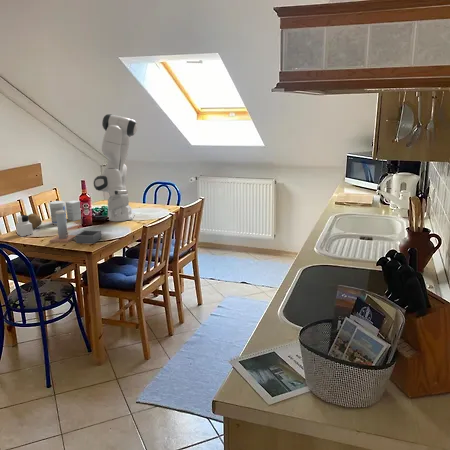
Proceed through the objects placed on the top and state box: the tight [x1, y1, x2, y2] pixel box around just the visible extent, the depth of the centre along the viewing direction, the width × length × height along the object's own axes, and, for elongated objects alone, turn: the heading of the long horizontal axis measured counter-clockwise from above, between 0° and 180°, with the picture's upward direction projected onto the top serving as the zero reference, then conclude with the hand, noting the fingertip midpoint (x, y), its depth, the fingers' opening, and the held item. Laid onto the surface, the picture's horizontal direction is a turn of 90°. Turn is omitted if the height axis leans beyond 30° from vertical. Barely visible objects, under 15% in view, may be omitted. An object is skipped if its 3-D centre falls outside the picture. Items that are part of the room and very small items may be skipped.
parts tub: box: [75, 230, 102, 245], centre depth 257 cm, size 11×11×4 cm
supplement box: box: [65, 200, 82, 222], centre depth 304 cm, size 7×7×13 cm
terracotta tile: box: [49, 234, 77, 243], centre depth 260 cm, size 11×11×1 cm
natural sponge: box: [27, 213, 42, 230], centre depth 282 cm, size 9×9×10 cm
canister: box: [56, 210, 69, 239], centre depth 257 cm, size 5×5×16 cm
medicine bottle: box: [15, 214, 34, 237], centre depth 269 cm, size 7×7×12 cm
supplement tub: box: [49, 200, 68, 226], centre depth 293 cm, size 10×10×15 cm
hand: (119, 215), depth 270 cm, fingers open, 8 cm apart
